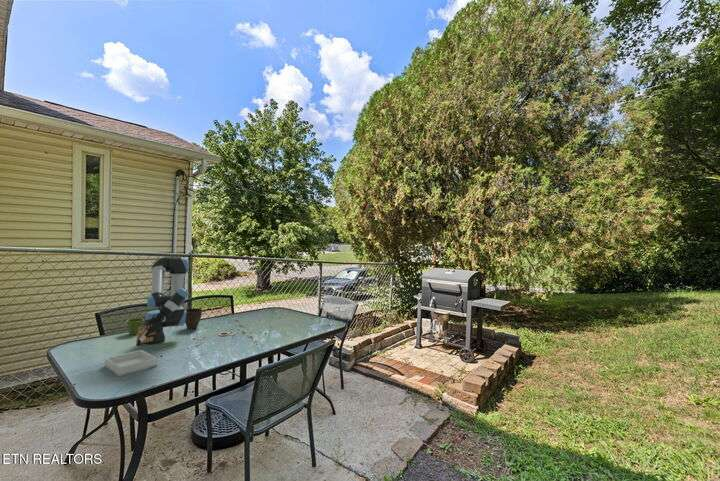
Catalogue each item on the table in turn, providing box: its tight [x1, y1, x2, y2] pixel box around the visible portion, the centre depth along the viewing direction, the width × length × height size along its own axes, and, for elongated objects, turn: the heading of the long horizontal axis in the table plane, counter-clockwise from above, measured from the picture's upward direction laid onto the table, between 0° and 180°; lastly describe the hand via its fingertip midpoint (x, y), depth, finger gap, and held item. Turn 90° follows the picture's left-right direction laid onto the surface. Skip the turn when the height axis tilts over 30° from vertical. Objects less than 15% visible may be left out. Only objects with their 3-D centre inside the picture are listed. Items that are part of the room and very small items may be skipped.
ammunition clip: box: [135, 324, 156, 347], centre depth 200 cm, size 11×2×12 cm, turn 148°
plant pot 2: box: [184, 308, 203, 330], centre depth 278 cm, size 15×15×16 cm
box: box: [103, 349, 158, 377], centre depth 195 cm, size 22×20×5 cm
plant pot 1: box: [126, 317, 145, 336], centre depth 256 cm, size 12×12×11 cm
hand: (139, 340), depth 196 cm, fingers closed on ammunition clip, 2 cm apart
